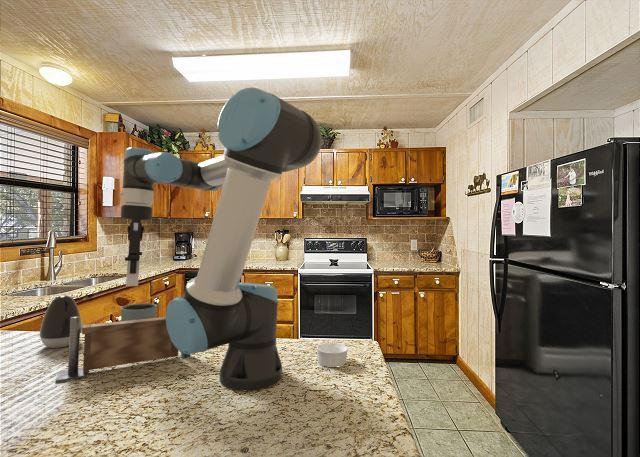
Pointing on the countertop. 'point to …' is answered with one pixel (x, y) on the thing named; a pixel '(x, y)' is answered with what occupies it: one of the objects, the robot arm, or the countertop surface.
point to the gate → (126, 343)
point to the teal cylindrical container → (138, 311)
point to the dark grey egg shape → (58, 322)
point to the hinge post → (73, 355)
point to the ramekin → (332, 354)
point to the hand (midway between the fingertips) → (132, 281)
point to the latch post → (185, 355)
